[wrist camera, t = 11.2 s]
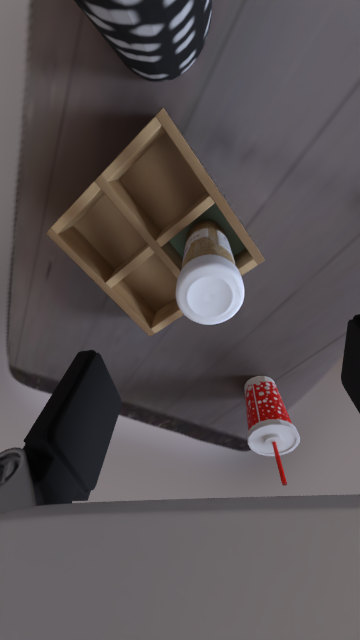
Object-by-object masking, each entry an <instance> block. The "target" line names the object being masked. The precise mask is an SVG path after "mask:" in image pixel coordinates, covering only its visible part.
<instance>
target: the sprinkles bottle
mask: <svg viewBox="0 0 360 640" xmlns="http://www.w3.org/2000/svg"><path fill="white" fill-rule="evenodd" d="M243 299H244V285H243V281H242V278H241V275H240V272H239V270H238V269H237V267H236V266H235V261H234V258H233V255H232V252H231V248H230V245H229V242H228V240H227V234H226V232H225V230H224V229H223V228H222V227H221V226H220V225H219V224H218V223H215V222H213V221H202V222H199V223H197V224H195V225H194V226H193V227H192V228H191V229H190V230H189V232H188V234H187V236H186V240H185V250H184V256H183V263H182V270H181V272H180V274H179V276H178V280H177V285H176V301H177V304H178V306H179V308H180V310H181V311H182V313H183V314H184V315H185V316H186V317H188V318H189V319H191V320H192V321H194V322H197V323H200V324H207V325H212V324H218V323H222V322H224V321H226V320H228V319H230V318H231V317H232V316H234V315H235V314H236V313H237V311H238V310H239V309H240V307H241V305H242V303H243Z"/></svg>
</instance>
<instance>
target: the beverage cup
mask: <svg viewBox="0 0 360 640" xmlns="http://www.w3.org/2000/svg"><path fill="white" fill-rule="evenodd" d="M244 391H245V401H246V411H247V420H248V430H249V431H248V436H247V438H248V445H249V446H250V448H251V450H253V451H255V452H256V453H258V454H261V455H265V456H275V457H276V461H277V465H278V469H279V473H280V477H281V481H282V484H283V485H287V482H286V478H285V475H284V471H283V468H282V464H281V460H280V456H279V455H283V454H287V453H289V452H290V451H292V450H294V449H295V448H296V447H297V446H298V445H299V441H300V437H299V434H298V432H297V430H296V427H295V426H294V425H292V423H291V420H290V418H289V415H288V413H287V411H286V408H285V406H284V404H283V401H282V399H281V396H280V394H279V392H278V389H277V387H276V385H275V382H274V380H272V379H271V378H270V377H266V376H256V377H253V378H251V379H249V380H248V381H247V382H246V384H245V387H244Z"/></svg>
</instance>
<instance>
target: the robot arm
mask: <svg viewBox="0 0 360 640" xmlns="http://www.w3.org/2000/svg"><path fill="white" fill-rule="evenodd" d="M341 381H342V384H343V386H344V388H345V390H346V391H347V393H348V395H349V396H350V398H351V400H352V401H353V403H354V405H355V406H356V408H357V410H358V411H359V413H360V314H359V315H355V316H354V317H353V320H349V322H348V326H347V334H346V342H345V349H344V357H343V365H342V373H341ZM120 408H121V398H120V396H119V394H118V391H117V389H116V387H115V385H114V383H113V381H112V379H111V376H110V374H109V372H108V370H107V368H106V366H105V364H104V361H103V359H102V357H101V355H100V354H99V353H96V352H95V351H94V350H89V351H81V352H79V353H78V354H77V355H76V357H75V358H74V360H73V362H72V363H71V365H70V367H69V368H68V370H67V371H66V373H65V375H64V376H63V378H62V380H61V381H60V383H59V384H58V386H57V388H56V389H55V391H54V392H53V394H52V396H51V397H50V399H49V401H48V402H47V404H46V406H45V407H44V409H43V410H42V412H41V414H40V415H39V417H38V419H37V420H36V422H35V423H34V425H33V426H32V428H31V430H30V431H29V433H28V435H27V436H26V438H25V439H24V442H25V443H26V444H25V446H24V448H23V449H21V448H11V449H7V450H5V451H3V452H1V453H0V640H360V495H321V496H277V497H241V498H207V499H176V500H144V501H115V502H90V503H72V501H85V500H88V498H89V495H90V491H91V490H93V489H94V488H95V486H96V484H97V480H98V477H99V474H100V471H101V468H102V465H103V461H104V458H105V455H106V452H107V449H108V446H109V443H110V440H111V436H112V433H113V430H114V427H115V424H116V421H117V418H118V415H119V411H120Z"/></svg>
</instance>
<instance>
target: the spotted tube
mask: <svg viewBox="0 0 360 640" xmlns="http://www.w3.org/2000/svg"><path fill="white" fill-rule="evenodd" d="M74 1H75V2H76V3H77V4H78V6H79V7H80V8H81V9H82V11H83V12H84V13H85V14H86V16H87V17H88V18H89V19H90V21H91V22H92V23H93V24H94V26H95V27H96V28H97V29H98V31H99V32H100V33H101V34H102V36H103V37H104V38H105V39H106V41H107V42H108V43H109V44H110V46H111V47H112V48H113V49H114V51H115V52H116V53H117V54H118V56H119V57H120V58H121V59H122V61H123V62H124V63H125V64H126V66H127V67H129V68H130V69H131V70H132V71H133V72H134V73H135V74H137V75H139V76H140V77H142V78H144V79H147V80H151V81H160V82H163V81H167V80H172V79H174V78H176V77H178V76H180V75H181V74H183V73H184V72H185V71H186V70H187V69H189V68H190V66H191V65H192V64H193V63H194V62H195V60H196V59H197V57H198V56H199V54H200V52H201V50H202V48H203V46H204V43H205V41H206V38H207V35H208V31H209V26H210V21H211V8H212V0H74Z"/></svg>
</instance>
